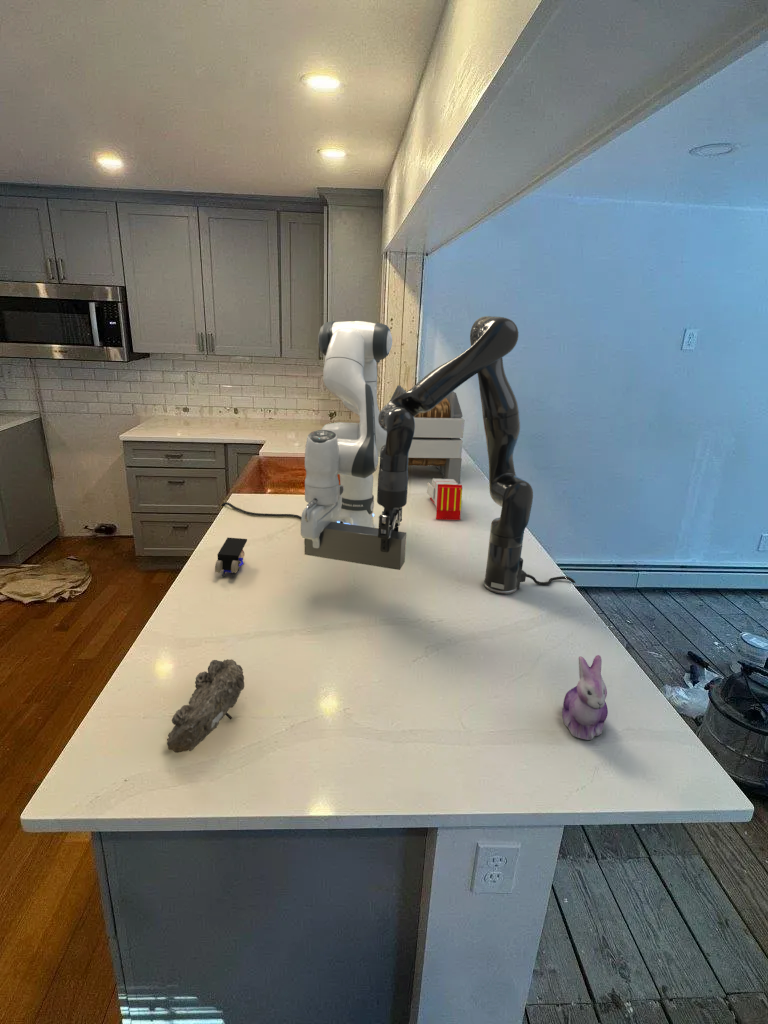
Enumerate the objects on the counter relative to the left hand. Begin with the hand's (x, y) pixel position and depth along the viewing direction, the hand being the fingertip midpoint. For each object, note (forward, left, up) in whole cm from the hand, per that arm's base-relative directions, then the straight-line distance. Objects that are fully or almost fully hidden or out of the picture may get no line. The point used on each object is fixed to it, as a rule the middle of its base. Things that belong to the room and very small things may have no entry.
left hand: (321, 542), depth 153 cm
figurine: (+68, -34, -15) cm, 77 cm away
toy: (+19, +82, -15) cm, 86 cm away
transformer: (-1, +129, -15) cm, 130 cm away
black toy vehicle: (-29, +3, -15) cm, 33 cm away
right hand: (+19, 0, +2) cm, 19 cm away
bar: (+9, 0, -3) cm, 10 cm away
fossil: (0, -55, -15) cm, 56 cm away
